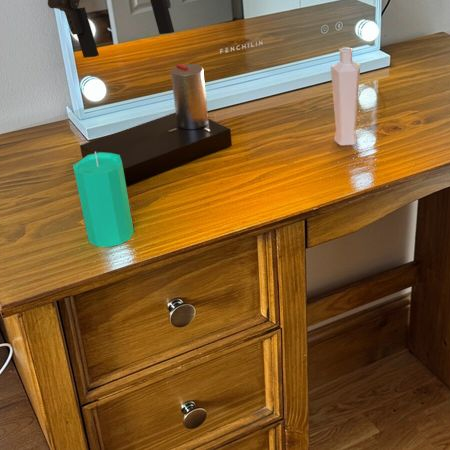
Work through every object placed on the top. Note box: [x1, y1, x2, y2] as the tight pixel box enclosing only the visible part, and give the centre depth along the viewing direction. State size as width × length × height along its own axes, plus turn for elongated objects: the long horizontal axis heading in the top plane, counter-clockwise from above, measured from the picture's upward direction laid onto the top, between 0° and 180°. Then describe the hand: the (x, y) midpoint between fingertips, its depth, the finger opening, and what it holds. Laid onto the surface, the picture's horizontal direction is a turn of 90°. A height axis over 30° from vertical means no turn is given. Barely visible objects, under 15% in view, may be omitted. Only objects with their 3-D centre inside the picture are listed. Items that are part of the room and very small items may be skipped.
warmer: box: [79, 111, 233, 188], centre depth 120 cm, size 22×12×3 cm, turn 132°
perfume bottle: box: [330, 46, 361, 146], centre depth 119 cm, size 5×4×15 cm
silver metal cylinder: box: [170, 63, 209, 129], centre depth 121 cm, size 5×5×9 cm
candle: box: [72, 152, 135, 248], centre depth 97 cm, size 6×6×12 cm
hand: (130, 44), depth 110 cm, fingers open, 13 cm apart
